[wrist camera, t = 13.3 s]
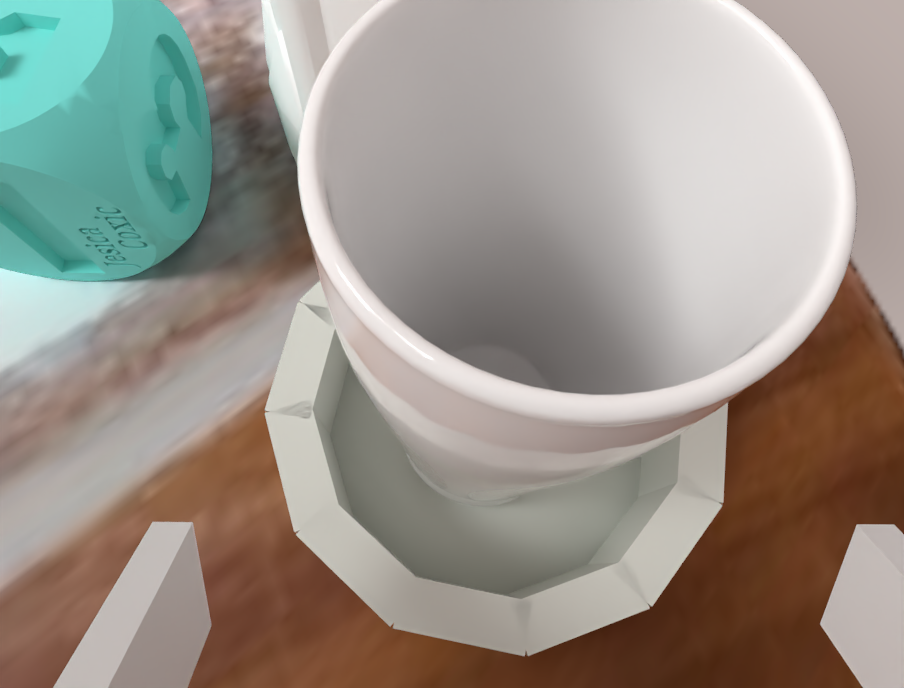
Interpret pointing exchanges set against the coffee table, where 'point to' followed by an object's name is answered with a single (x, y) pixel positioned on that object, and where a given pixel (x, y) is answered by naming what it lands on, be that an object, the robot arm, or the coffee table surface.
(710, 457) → the dish
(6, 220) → the decorative dice
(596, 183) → the drinking glass
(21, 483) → the coffee table surface
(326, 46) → the decorative vase
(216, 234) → the coffee table surface
